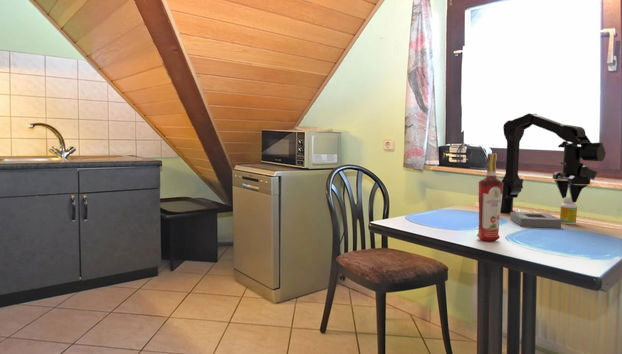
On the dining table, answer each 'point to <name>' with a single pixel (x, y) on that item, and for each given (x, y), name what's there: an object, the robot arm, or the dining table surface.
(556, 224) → the dock
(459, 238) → the dining table surface
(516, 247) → the dining table surface
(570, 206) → the supplement bottle
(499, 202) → the liquor
